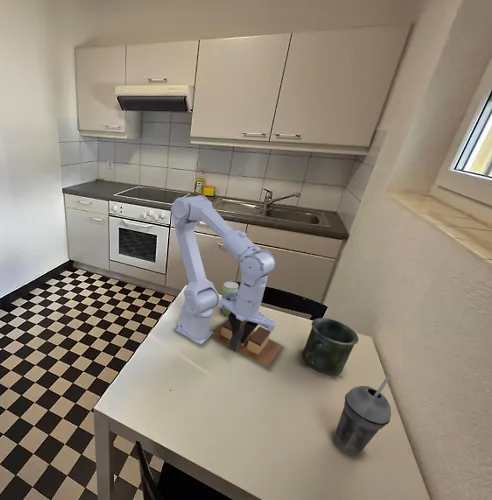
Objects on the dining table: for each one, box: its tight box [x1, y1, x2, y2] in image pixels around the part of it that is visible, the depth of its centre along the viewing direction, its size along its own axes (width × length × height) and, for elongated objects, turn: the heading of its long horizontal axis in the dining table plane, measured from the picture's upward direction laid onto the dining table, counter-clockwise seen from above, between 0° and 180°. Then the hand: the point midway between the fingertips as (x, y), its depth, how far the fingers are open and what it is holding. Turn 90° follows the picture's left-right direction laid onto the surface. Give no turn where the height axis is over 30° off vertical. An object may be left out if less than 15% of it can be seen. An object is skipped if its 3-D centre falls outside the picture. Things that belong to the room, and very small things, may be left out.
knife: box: [228, 325, 244, 353], centre depth 79 cm, size 2×18×4 cm, turn 137°
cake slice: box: [247, 325, 272, 355], centre depth 85 cm, size 4×8×4 cm, turn 138°
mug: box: [301, 317, 359, 377], centre depth 78 cm, size 11×15×12 cm
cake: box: [220, 319, 255, 346], centre depth 89 cm, size 8×8×4 cm
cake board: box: [210, 322, 283, 368], centre depth 87 cm, size 18×12×1 cm, turn 48°
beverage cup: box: [333, 374, 392, 457], centre depth 56 cm, size 7×7×20 cm
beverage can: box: [221, 281, 240, 316], centre depth 99 cm, size 6×7×12 cm
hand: (239, 338), depth 76 cm, fingers closed on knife, 2 cm apart
